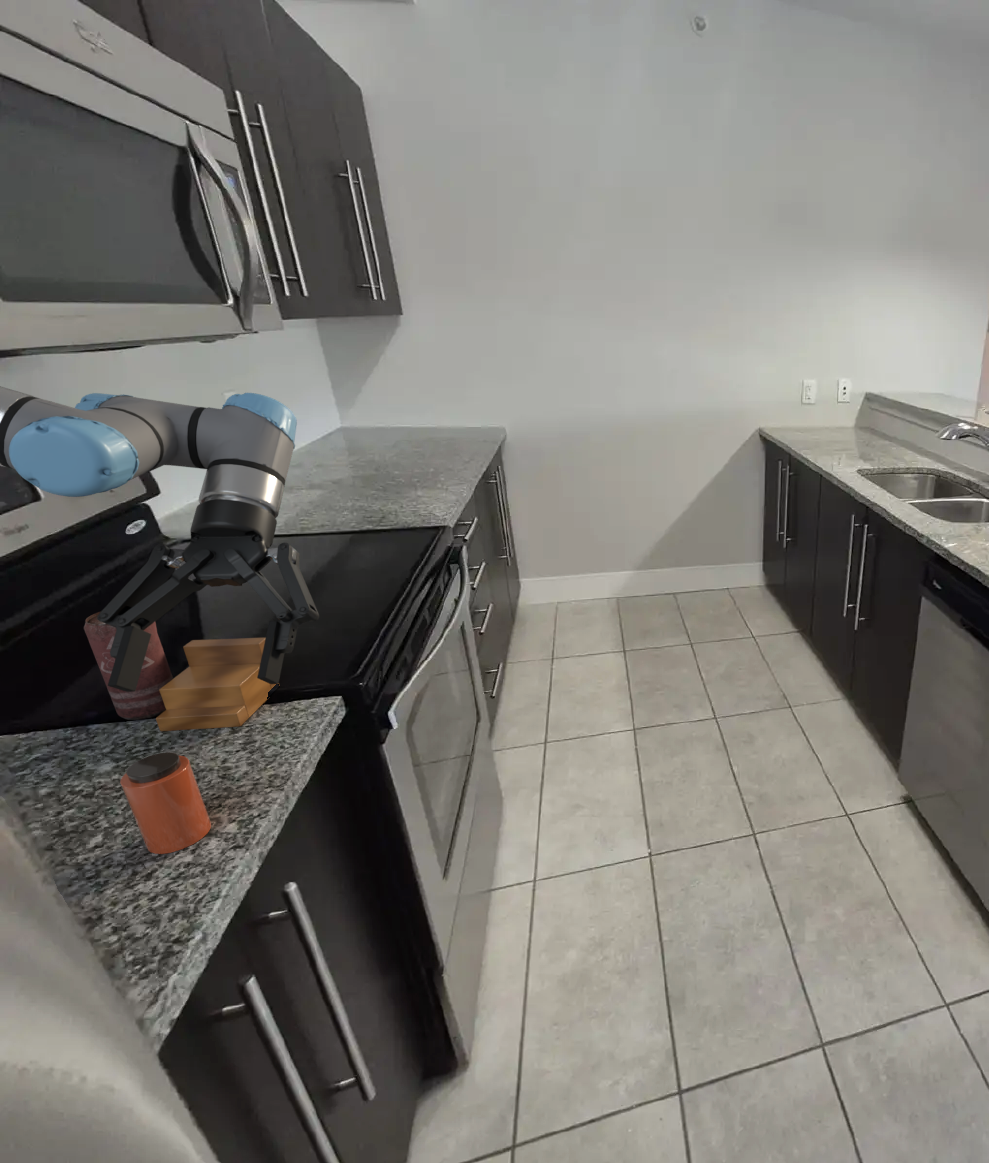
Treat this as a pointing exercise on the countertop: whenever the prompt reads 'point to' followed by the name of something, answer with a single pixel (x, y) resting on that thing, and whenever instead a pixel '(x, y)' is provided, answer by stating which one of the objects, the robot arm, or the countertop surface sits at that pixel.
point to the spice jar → (166, 802)
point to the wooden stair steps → (215, 685)
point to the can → (152, 674)
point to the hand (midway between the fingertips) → (196, 685)
